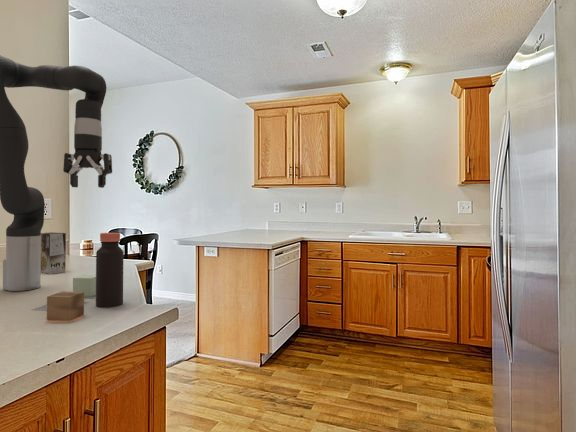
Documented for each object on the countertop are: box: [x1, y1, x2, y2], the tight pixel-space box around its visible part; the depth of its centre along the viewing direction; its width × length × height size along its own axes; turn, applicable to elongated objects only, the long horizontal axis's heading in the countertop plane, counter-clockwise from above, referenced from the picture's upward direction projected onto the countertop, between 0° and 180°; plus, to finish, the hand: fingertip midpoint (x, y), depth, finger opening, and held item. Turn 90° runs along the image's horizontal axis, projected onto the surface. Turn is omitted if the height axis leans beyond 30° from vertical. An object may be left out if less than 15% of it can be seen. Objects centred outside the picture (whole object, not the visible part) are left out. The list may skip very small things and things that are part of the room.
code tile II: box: [84, 295, 96, 300], centre depth 112 cm, size 10×10×1 cm
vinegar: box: [95, 232, 125, 309], centre depth 102 cm, size 7×7×20 cm
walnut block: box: [46, 290, 85, 321], centre depth 89 cm, size 6×6×6 cm
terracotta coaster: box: [45, 313, 85, 324], centre depth 89 cm, size 8×8×1 cm
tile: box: [31, 301, 90, 312], centre depth 99 cm, size 10×10×1 cm
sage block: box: [72, 274, 96, 297], centre depth 112 cm, size 6×6×6 cm
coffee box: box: [41, 231, 67, 275], centre depth 152 cm, size 9×6×16 cm
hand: (87, 187), depth 115 cm, fingers open, 8 cm apart
